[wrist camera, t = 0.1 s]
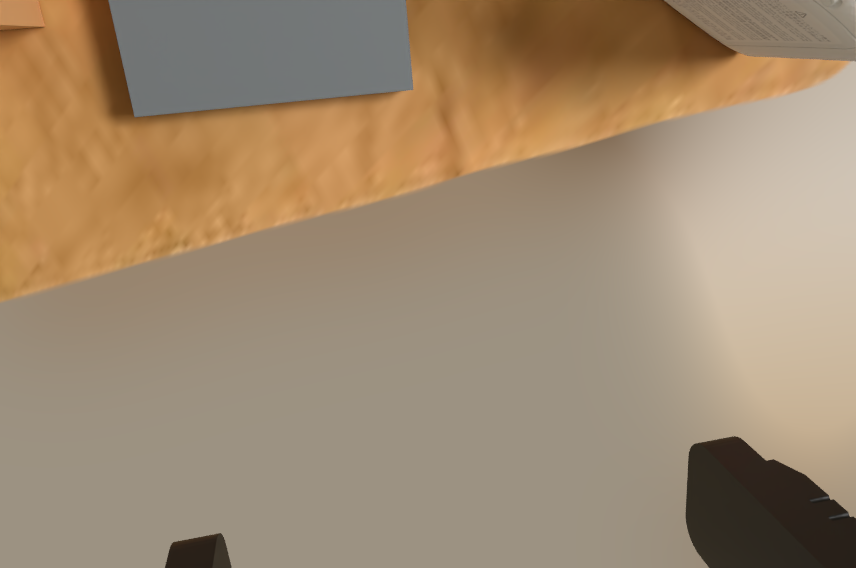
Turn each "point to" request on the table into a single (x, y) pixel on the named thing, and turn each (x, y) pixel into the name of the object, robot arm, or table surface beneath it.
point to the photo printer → (778, 26)
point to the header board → (258, 51)
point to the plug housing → (20, 14)
